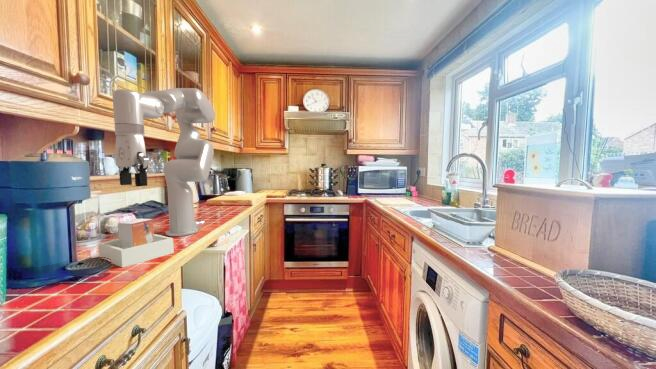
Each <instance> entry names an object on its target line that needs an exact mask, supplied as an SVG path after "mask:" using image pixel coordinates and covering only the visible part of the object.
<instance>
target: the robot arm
mask: <svg viewBox="0 0 656 369" xmlns="http://www.w3.org/2000/svg"><path fill="white" fill-rule="evenodd" d="M112 110H113V119H114V120H113V122H114V134H115V136H116V137H115V148H114V149H115V150H114V151H115V156H114V157H115V165H116V167H118V174H119V175H118V176H119V185H121V186H129V185H130V186H131V185H132V184H133V180H132V179H133V178H132V172H130V171H131V170H132V168H133V169H134V171H135V173H134V182H135V184H134V185H135V187H147V186H148V167H149V165H148V164H149V158H148V157H147V153H146V152H147V150H146V145H145V144H146V143H145V138H144V137H146V136H145V135H146V134H145V125H144V124H145V123H144V122H145V120H146V119H147V120H150V119H151V120H152V119H153V120H155V119H158V118H160V117H161V118H162V116H163V114H171V113H174V112H175V113H174V114H175V118H176V122H177V125H178V127H179V132H180V133H179V136H178V139H177V141H176V144H175V148H174V152H173V153H174V157H175V159H171V160H168V161H167V162H165V164H163V175H164V177H165V178H164V180H165V182H166V190H167V204H168V206H167V208H168V228H169V229H167V230H166V231H165V236H166V237H168V236H169V237H183V236H189V235H193V234H196V233H198V232H199V231H200V230H199V226H202V225H205V220H195V211H194V210H195V209H194V208H195V207H194V192H193V189H192V187H191V186H190V184H189V182H191V183H192V182H193V183H195V182H197V183H198V182H200V183H201V182H205V181H206V180H207V179H208V178H209V175H210V173H211V172H210V171H211V169H212V168H211V167H212V163H213V159H214V156H215V153H214V152H215V151H214V150H215V149H214V146H213V144H212V142H211V141H209V140H206V139H201V133H200V131H199V130H198V129H197V128H196V127H195V126H194V125H193V124H211V123H212V122H214V121H215V119H216V118H215V117H216V112H215V110H214V107H213V106H212V104H211V102H210V101H209V99H208V98H207V96H206V95H205V94H204V93H203V92H202V91H201V89H199V88H197V87H173V88H168V89H163V90H153V91H147V92H146V91H145V92H139V91H135V90H130V89H125V88H124V89H123V88H122V89H115V90H113V91H112Z"/></svg>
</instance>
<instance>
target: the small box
mask: <svg viewBox="0 0 656 369" xmlns="http://www.w3.org/2000/svg"><path fill="white" fill-rule="evenodd" d="M117 229H118V232H117V233H118V235H117V236H118V239H119V248H121V249H126V248H131V247H135V246H139V245H143V244H148V243H152V242H154V234H155V233H154V232H155V231H154V218H142V217H141V218H137V219H133V220H128V221H123V222H117Z"/></svg>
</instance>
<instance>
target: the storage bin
mask: <svg viewBox="0 0 656 369" xmlns="http://www.w3.org/2000/svg"><path fill="white" fill-rule="evenodd" d="M97 245H98V255H99V256H98V258H99V257H106V258H109V259H111V261H112V263H113V264H112V263H111V264H112V265H114V264H115V266H117V267H121V268H125V267H129V266H133V265H136V264H140V263H143V262H146V261H147V262H148V261H150V260H154V259H157V258H161V257H165V256H167V255H171V254H174V252H175V250H174V249H175V248H174V238H173V237H171V236H169V237H168V236H166V235H161V234H156V233H154V242H152V243H148V244H143V245H139V246H135V247H131V248H126V249H121V248H119V238H117V239H113V240H112V239H111V240H108V241H103V242H99V243H98V244H97Z"/></svg>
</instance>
